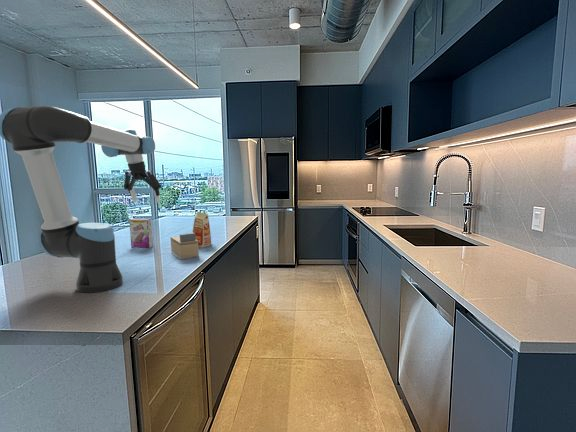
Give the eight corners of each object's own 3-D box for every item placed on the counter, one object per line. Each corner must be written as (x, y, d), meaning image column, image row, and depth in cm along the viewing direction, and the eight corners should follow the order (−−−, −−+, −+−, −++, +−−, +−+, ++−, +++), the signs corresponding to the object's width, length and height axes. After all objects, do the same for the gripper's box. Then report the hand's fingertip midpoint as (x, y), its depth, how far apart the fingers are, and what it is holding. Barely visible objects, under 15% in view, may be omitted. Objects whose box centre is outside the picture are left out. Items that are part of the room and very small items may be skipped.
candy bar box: (130, 248, 185) (128, 219, 183) (135, 246, 190) (133, 218, 188) (149, 248, 184) (147, 219, 182) (153, 246, 189) (152, 218, 186)
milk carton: (191, 246, 187) (189, 212, 184) (200, 243, 195) (198, 210, 193) (205, 247, 184) (203, 212, 182) (213, 244, 193) (212, 210, 190)
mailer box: (180, 259, 158) (179, 245, 158) (171, 252, 173) (170, 239, 172) (198, 256, 163) (198, 242, 162) (188, 249, 178) (187, 237, 177)
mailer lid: (179, 244, 158) (179, 235, 157) (170, 238, 172) (170, 230, 172) (198, 242, 162) (197, 233, 162) (187, 236, 177) (187, 228, 177)
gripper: (162, 158, 159) (172, 198, 168) (118, 159, 165) (130, 198, 174) (153, 163, 153) (164, 204, 162) (108, 164, 158) (121, 204, 167)
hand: (146, 201), depth 168 cm, fingers open, 13 cm apart
